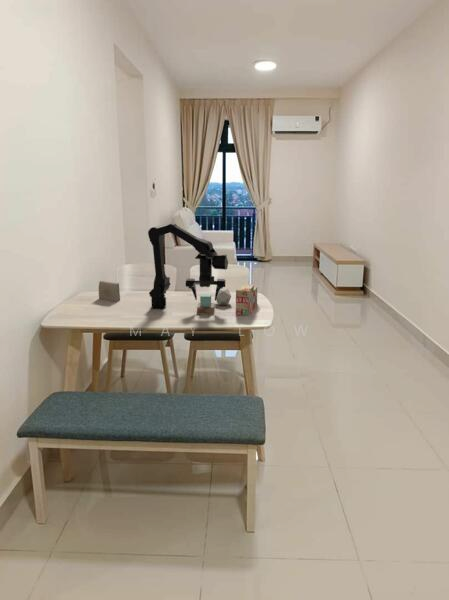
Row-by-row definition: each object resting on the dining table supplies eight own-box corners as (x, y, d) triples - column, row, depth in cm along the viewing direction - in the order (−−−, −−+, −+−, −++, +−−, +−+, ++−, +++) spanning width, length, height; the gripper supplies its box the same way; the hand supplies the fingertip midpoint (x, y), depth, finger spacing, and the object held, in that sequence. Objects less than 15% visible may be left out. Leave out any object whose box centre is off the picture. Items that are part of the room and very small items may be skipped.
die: (225, 308, 222) (235, 292, 223) (210, 299, 222) (220, 283, 223) (225, 309, 230) (234, 294, 231) (211, 301, 231) (220, 285, 231)
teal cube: (200, 306, 212) (200, 296, 211) (200, 303, 217) (200, 293, 216) (210, 306, 212) (210, 296, 211) (211, 303, 217) (211, 293, 216)
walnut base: (197, 313, 212) (196, 307, 211) (198, 308, 219) (198, 302, 219) (213, 313, 211) (213, 307, 211) (214, 308, 219) (214, 303, 218)
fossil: (120, 300, 234) (119, 282, 231) (116, 302, 230) (115, 284, 228) (103, 297, 239) (102, 280, 236) (98, 299, 236) (97, 281, 233)
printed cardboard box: (245, 303, 230) (245, 279, 227) (257, 304, 229) (257, 280, 225) (235, 314, 210) (235, 289, 207) (248, 316, 209) (248, 290, 205)
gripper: (184, 271, 202) (184, 304, 206) (225, 271, 202) (224, 305, 206) (186, 266, 213) (187, 298, 217) (225, 267, 213) (225, 298, 217)
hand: (205, 300), depth 214 cm, fingers open, 9 cm apart
